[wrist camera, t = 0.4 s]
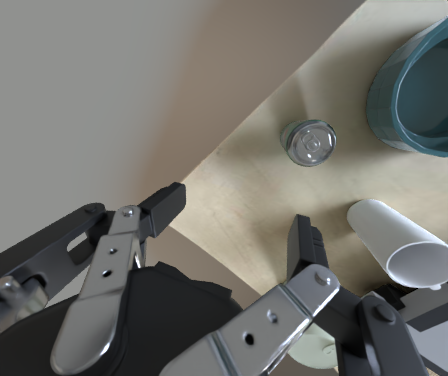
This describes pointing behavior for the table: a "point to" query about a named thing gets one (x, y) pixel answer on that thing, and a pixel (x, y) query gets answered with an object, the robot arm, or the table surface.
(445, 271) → the mug
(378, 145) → the table surface
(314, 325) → the can
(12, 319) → the robot arm
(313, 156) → the soda can
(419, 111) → the teal serving bowl
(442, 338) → the game console
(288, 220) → the table surface
